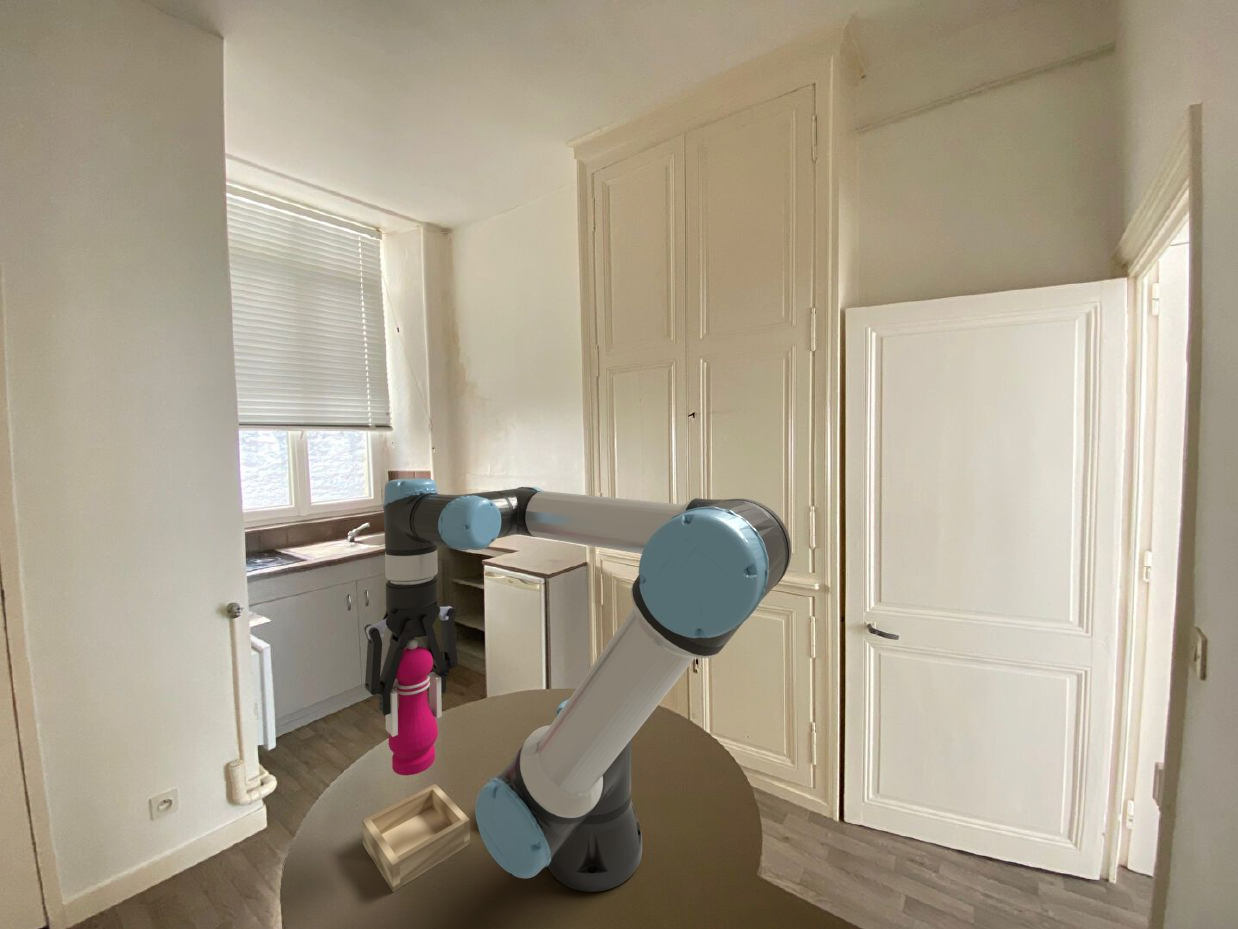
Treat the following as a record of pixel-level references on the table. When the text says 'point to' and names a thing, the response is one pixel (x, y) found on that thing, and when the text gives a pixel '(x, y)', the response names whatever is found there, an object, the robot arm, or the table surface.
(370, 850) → the tray
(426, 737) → the pepper mill
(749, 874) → the table surface
